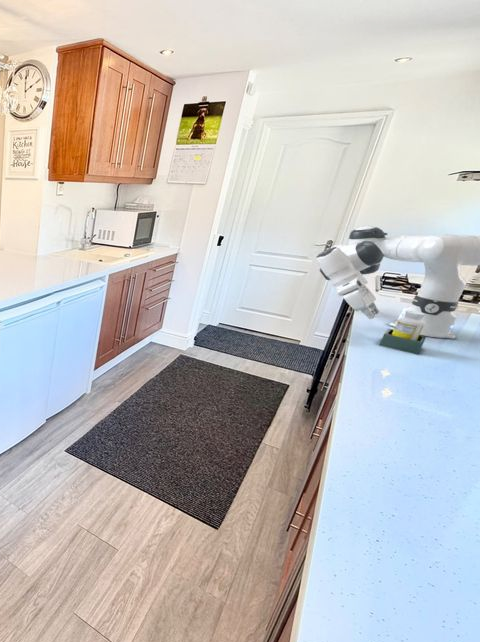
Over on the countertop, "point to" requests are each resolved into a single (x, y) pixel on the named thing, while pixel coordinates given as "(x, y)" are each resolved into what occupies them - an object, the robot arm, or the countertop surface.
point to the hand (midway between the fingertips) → (374, 315)
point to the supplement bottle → (409, 325)
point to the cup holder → (402, 342)
